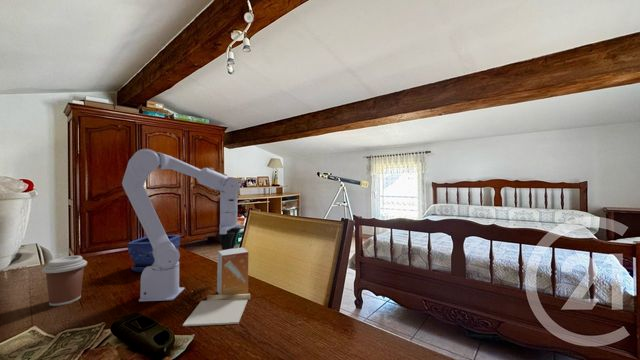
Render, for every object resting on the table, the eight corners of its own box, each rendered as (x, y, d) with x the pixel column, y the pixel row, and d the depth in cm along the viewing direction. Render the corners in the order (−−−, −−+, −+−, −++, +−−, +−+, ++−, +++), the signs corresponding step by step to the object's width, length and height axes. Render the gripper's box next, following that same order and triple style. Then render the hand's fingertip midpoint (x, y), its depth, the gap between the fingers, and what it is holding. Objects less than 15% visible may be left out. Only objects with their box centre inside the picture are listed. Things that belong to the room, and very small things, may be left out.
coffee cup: (34, 304, 70) (35, 261, 70) (76, 291, 79) (76, 253, 79) (52, 311, 67) (52, 266, 67) (93, 296, 75) (94, 256, 75)
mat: (182, 326, 60) (182, 324, 60) (201, 302, 72) (201, 300, 72) (238, 323, 61) (238, 322, 61) (247, 300, 73) (247, 298, 73)
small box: (221, 300, 73) (221, 255, 73) (216, 291, 79) (217, 250, 79) (248, 293, 78) (249, 251, 78) (242, 286, 83) (243, 246, 83)
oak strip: (207, 301, 72) (207, 296, 72) (208, 300, 73) (208, 295, 73) (249, 299, 73) (249, 294, 73) (250, 298, 74) (250, 293, 74)
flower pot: (161, 274, 93) (161, 242, 93) (125, 274, 93) (126, 242, 93) (181, 263, 106) (181, 234, 106) (150, 262, 106) (150, 234, 106)
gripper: (235, 214, 81) (235, 256, 81) (244, 209, 95) (244, 245, 95) (213, 214, 80) (212, 257, 80) (225, 209, 95) (225, 245, 95)
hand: (228, 250), depth 88 cm, fingers open, 5 cm apart
